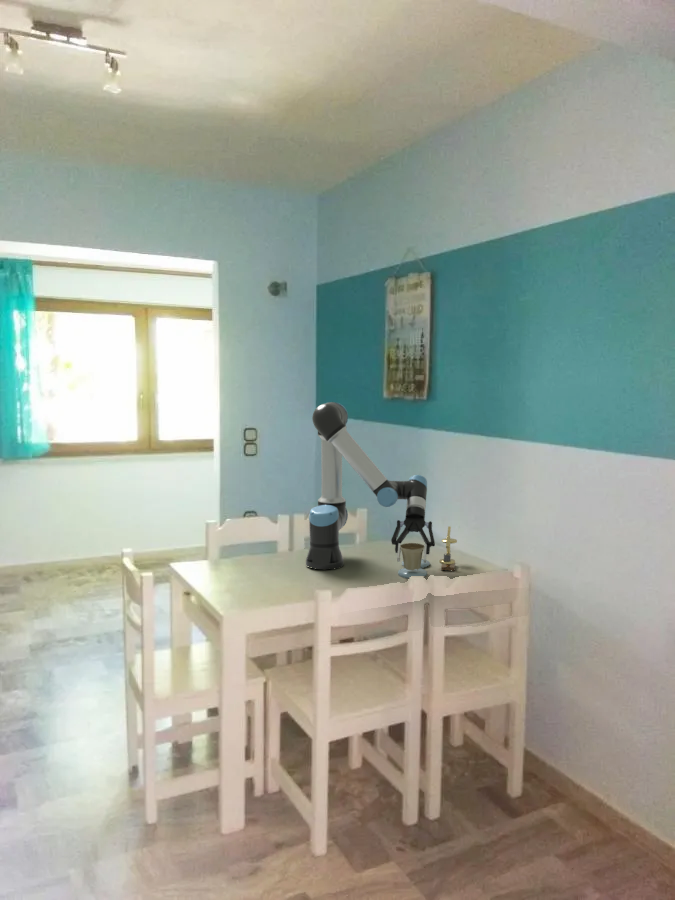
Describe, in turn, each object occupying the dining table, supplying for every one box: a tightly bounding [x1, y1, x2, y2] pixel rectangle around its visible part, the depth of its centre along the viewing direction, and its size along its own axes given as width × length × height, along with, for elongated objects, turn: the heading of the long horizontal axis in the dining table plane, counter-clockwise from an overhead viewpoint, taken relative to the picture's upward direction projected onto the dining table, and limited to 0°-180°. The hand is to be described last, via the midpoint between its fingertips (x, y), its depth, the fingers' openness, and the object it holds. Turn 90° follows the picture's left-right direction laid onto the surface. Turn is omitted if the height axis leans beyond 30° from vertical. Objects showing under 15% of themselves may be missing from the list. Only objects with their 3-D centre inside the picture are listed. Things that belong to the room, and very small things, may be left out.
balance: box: [439, 525, 458, 572], centre depth 272 cm, size 6×21×15 cm, turn 168°
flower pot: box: [400, 542, 425, 570], centre depth 265 cm, size 9×9×9 cm
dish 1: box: [397, 567, 428, 579], centre depth 266 cm, size 11×11×1 cm
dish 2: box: [401, 558, 431, 569], centre depth 278 cm, size 11×11×1 cm
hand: (411, 560), depth 262 cm, fingers closed on flower pot, 9 cm apart
